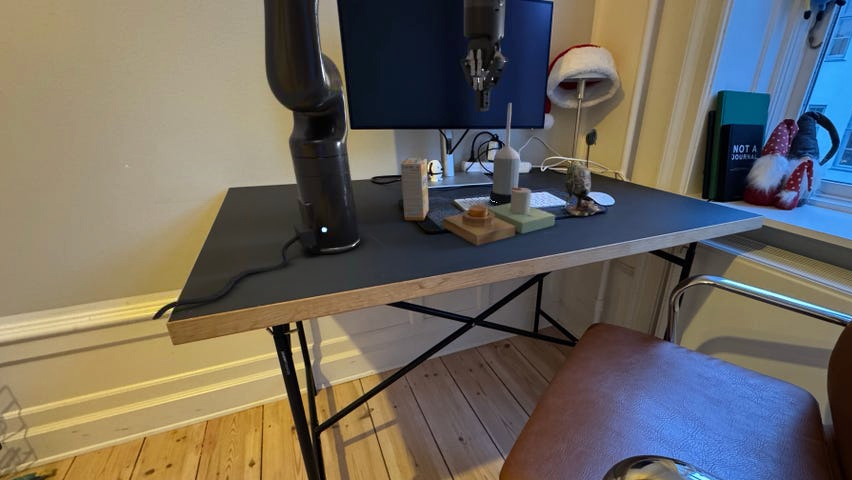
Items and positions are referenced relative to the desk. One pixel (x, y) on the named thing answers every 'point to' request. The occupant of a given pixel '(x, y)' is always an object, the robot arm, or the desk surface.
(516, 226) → the green base plate
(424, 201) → the supplement box
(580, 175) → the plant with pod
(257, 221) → the desk surface
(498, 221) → the lamp base
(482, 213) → the light button
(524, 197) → the dimmer knob
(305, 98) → the robot arm
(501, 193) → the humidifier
